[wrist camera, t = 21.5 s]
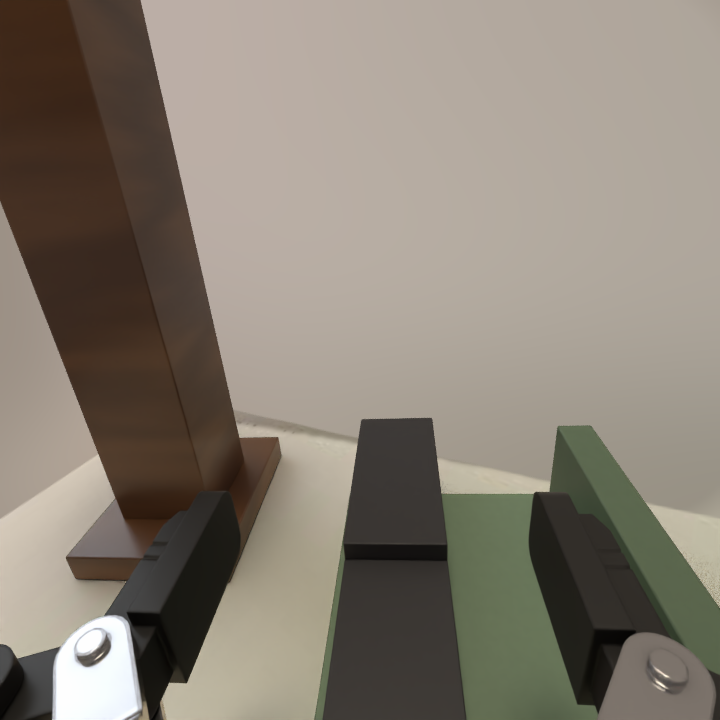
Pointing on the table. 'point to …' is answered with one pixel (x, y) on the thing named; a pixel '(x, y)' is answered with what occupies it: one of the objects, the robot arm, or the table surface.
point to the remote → (395, 585)
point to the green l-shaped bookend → (523, 595)
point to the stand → (118, 271)
